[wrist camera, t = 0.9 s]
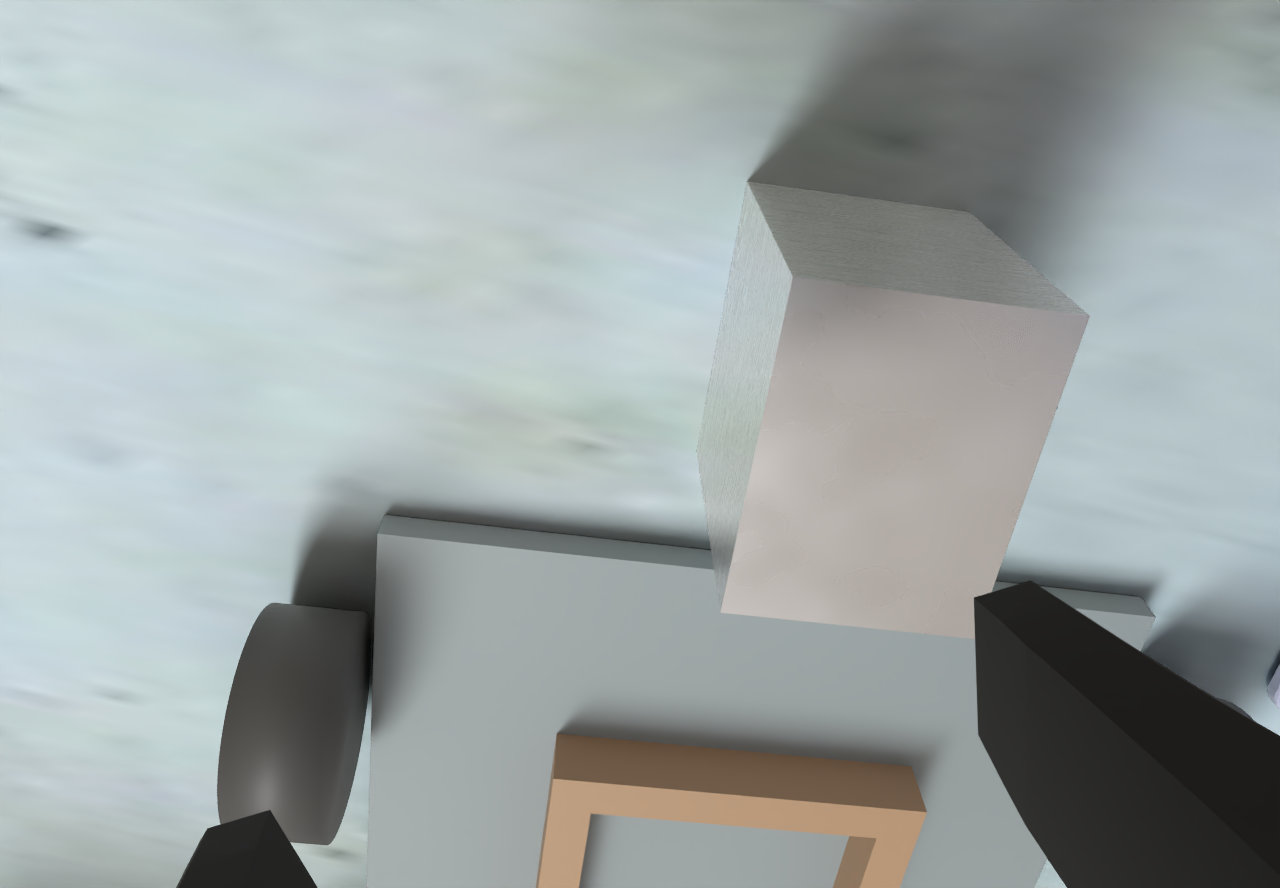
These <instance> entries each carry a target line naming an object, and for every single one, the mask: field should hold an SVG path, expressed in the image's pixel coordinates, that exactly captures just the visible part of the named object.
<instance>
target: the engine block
mask: <svg viewBox="0 0 1280 888" xmlns="http://www.w3.org/2000/svg"><path fill="white" fill-rule="evenodd" d="M1089 317H1090V316H1089V315H1088V314H1087V313H1086V312H1085V311H1083V310H1082V309H1081V308H1080V307H1079V306H1078V305H1077V304H1075V303H1074V302H1073V301H1072V300H1071V299H1070V298H1068V297H1067V296H1066V295H1065V294H1064V293H1063V292H1061V291H1060V290H1059V289H1058V288H1057V287H1056V286H1054V285H1053V284H1052V283H1051V282H1050V281H1049V280H1048V279H1046V278H1045V277H1044V276H1043V275H1042V274H1041V273H1039V272H1038V271H1037V270H1036V269H1035V268H1034V267H1032V266H1031V265H1030V264H1029V263H1028V262H1027V261H1025V260H1024V259H1023V258H1022V257H1021V256H1020V255H1019V254H1017V253H1016V252H1015V251H1014V250H1013V249H1012V248H1010V247H1009V246H1008V245H1007V244H1006V243H1005V242H1003V241H1002V240H1001V239H1000V238H999V237H998V236H996V235H995V234H994V233H993V232H992V231H991V230H990V229H988V228H987V227H986V226H985V225H984V224H983V223H981V222H980V221H979V220H978V219H977V218H976V217H974V216H973V215H972V214H971V213H970V212H966V211H958V210H951V209H944V208H937V207H930V206H922V205H915V204H908V203H901V202H893V201H886V200H879V199H872V198H865V197H857V196H850V195H843V194H836V193H828V192H821V191H814V190H807V189H800V188H792V187H785V186H778V185H771V184H763V183H756V182H749V181H747V184H746V189H745V194H744V200H743V205H742V210H741V216H740V221H739V226H738V232H737V237H736V242H735V248H734V253H733V258H732V264H731V269H730V274H729V280H728V285H727V290H726V296H725V301H724V306H723V312H722V317H721V322H720V328H719V333H718V338H717V344H716V349H715V354H714V360H713V365H712V371H711V376H710V381H709V387H708V392H707V397H706V403H705V408H704V413H703V419H702V424H701V429H700V435H699V440H698V445H697V458H698V465H699V472H700V478H701V485H702V492H703V499H704V505H705V512H706V519H707V526H708V532H709V539H710V546H711V553H712V559H713V566H714V573H715V579H716V586H717V593H718V600H719V606H720V613H728V614H738V615H748V616H757V617H767V618H777V619H786V620H796V621H806V622H815V623H825V624H835V625H844V626H854V627H864V628H873V629H883V630H893V631H902V632H912V633H922V634H931V635H941V636H951V637H960V638H970V639H975V622H974V597H977V596H981V595H984V594H987V593H991V592H992V589H993V586H994V584H995V581H996V578H997V575H998V572H999V569H1000V567H1001V564H1002V561H1003V558H1004V555H1005V553H1006V550H1007V547H1008V544H1009V541H1010V539H1011V536H1012V533H1013V530H1014V527H1015V525H1016V522H1017V519H1018V516H1019V513H1020V510H1021V508H1022V505H1023V502H1024V499H1025V496H1026V494H1027V491H1028V488H1029V485H1030V482H1031V480H1032V477H1033V474H1034V471H1035V468H1036V466H1037V463H1038V460H1039V457H1040V454H1041V451H1042V449H1043V446H1044V443H1045V440H1046V437H1047V435H1048V432H1049V429H1050V426H1051V423H1052V421H1053V418H1054V415H1055V412H1056V409H1057V407H1058V404H1059V401H1060V398H1061V395H1062V392H1063V390H1064V387H1065V384H1066V381H1067V378H1068V376H1069V373H1070V370H1071V367H1072V364H1073V362H1074V359H1075V356H1076V353H1077V350H1078V348H1079V345H1080V342H1081V339H1082V336H1083V333H1084V331H1085V328H1086V325H1087V322H1088V319H1089Z"/></svg>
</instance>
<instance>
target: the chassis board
mask: <svg viewBox="0 0 1280 888" xmlns="http://www.w3.org/2000/svg"><path fill="white" fill-rule="evenodd" d="M1014 585H1017V584H1016V583H1007V582H998V581H995V584H994V586H993V589H992V592H994V591H997V590H1001V589H1004V588H1007V587H1011V586H1014ZM1040 587H1042V588H1044V589H1045V590H1047V591H1048V592H1050V593H1051V594H1053V595H1054V596H1056V597H1058V598H1059V599H1061V600H1062V601H1064V602H1065V603H1067V604H1068V605H1070V606H1071V607H1073V608H1074V609H1076V610H1077V611H1079V612H1081V613H1082V614H1084V615H1085V616H1087V617H1088V618H1090V619H1091V620H1093V621H1094V622H1096V623H1097V624H1099V625H1100V626H1102V627H1103V628H1105V629H1107V630H1108V631H1110V632H1111V633H1113V634H1114V635H1116V636H1117V637H1119V638H1120V639H1122V640H1123V641H1125V642H1127V643H1128V644H1130V645H1131V646H1133V647H1134V648H1136V649H1138V650H1139V651H1141V649H1142V647H1143V645H1144V643H1145V641H1146V638H1147V636H1148V634H1149V632H1150V629H1151V627H1152V625H1153V623H1154V621H1155V618H1156V617H1155V615H1154V614H1153V613H1152V611H1151V610H1150V609H1149V607H1148V606H1147V605H1146V603H1145V602H1144V601H1143V599H1142V598H1141V597H1136V596H1127V595H1117V594H1108V593H1099V592H1090V591H1081V590H1071V589H1062V588H1053V587H1044V586H1040ZM371 644H372V643H371V626H370V620H369V617H368V615H367V613H366V612H361V611H351V610H341V609H331V608H321V607H311V606H301V605H291V604H281V603H271V604H269V605H268V606H266V607H265V608H264V609H263V611H262V612H261V613H260V615H259V616H258V618H257V620H256V621H255V623H254V625H253V627H252V629H251V631H250V633H249V636H248V638H247V641H246V643H245V646H244V648H243V651H242V654H241V657H240V660H239V663H238V666H237V670H236V673H235V676H234V680H233V684H232V688H231V692H230V696H229V701H228V705H227V710H226V715H225V720H224V726H223V732H222V739H221V746H220V755H219V765H218V783H217V798H218V812H219V819H220V824H224V823H227V822H231V821H234V820H237V819H241V818H244V817H247V816H251V815H254V814H257V813H261V812H264V811H267V810H271V812H272V814H273V815H274V817H275V819H276V820H277V822H278V824H279V825H280V827H281V829H282V830H283V832H284V833H285V835H286V837H287V838H288V840H289V842H294V843H306V844H318V845H329V844H330V843H331V842H332V841H333V839H334V838H335V836H336V834H337V832H338V829H339V827H340V824H341V822H342V819H343V816H344V813H345V810H346V807H347V803H348V799H349V796H350V792H351V788H352V784H353V780H354V776H355V771H356V767H357V762H358V757H359V752H360V746H361V741H362V735H363V729H364V723H365V716H366V709H367V701H368V692H369V682H370V670H371ZM1216 699H1218V698H1216ZM1218 700H1220V701H1221V702H1223V703H1225V704H1226V705H1228V706H1230V707H1231V708H1233V709H1235V710H1236V711H1238V712H1240V713H1241V714H1243V715H1245V716H1246V717H1248V718H1250V719H1251V720H1253V719H1252V718H1251V717H1250V716H1249V715H1248V714H1247V713H1246V712H1245V711H1243V710H1242V709H1241V708H1239V707H1238V706H1236V705H1235V704H1233V703H1231V702H1228V701H1226V700H1223V699H1218ZM1253 721H1254V720H1253ZM1046 860H1047V857H1046V856H1045V854H1044V853H1043V851H1042V850H1041V848H1040V847H1039V845H1038V844H1037V842H1036V841H1035V839H1034V838H1033V836H1032V835H1031V833H1030V831H1029V830H1028V828H1027V827H1026V825H1025V824H1024V822H1023V820H1022V818H1021V816H1020V814H1019V812H1018V811H1017V809H1016V807H1015V805H1014V803H1013V801H1012V799H1011V798H1010V796H1009V794H1008V792H1007V790H1006V788H1005V786H1004V785H1003V783H1002V781H1001V779H1000V777H999V775H998V773H997V771H996V769H995V767H994V765H993V763H992V761H991V759H990V757H989V755H988V753H987V751H986V749H985V747H984V745H983V743H982V741H981V740H980V738H979V736H978V717H977V685H976V653H975V639H970V638H960V637H951V636H941V635H931V634H922V633H912V632H902V631H893V630H883V629H873V628H864V627H854V626H844V625H835V624H825V623H815V622H806V621H796V620H786V619H777V618H767V617H757V616H748V615H738V614H728V613H720V606H719V600H718V593H717V586H716V579H715V573H714V566H713V559H712V553H711V550H704V549H695V548H685V547H676V546H667V545H658V544H649V543H639V542H630V541H621V540H612V539H603V538H593V537H584V536H575V535H566V534H557V533H547V532H538V531H529V530H520V529H511V528H501V527H492V526H483V525H474V524H465V523H456V522H446V521H437V520H428V519H419V518H410V517H400V516H391V515H384V517H383V520H382V523H381V525H380V528H379V531H378V533H377V559H376V591H375V623H374V656H373V688H372V720H371V752H370V784H369V816H368V848H367V880H366V888H1034V887H1035V885H1036V882H1037V880H1038V878H1039V876H1040V874H1041V871H1042V869H1043V867H1044V865H1045V862H1046Z"/></svg>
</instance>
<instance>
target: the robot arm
mask: <svg viewBox="0 0 1280 888" xmlns="http://www.w3.org/2000/svg"><path fill="white" fill-rule="evenodd" d="M974 622H975V653H976V685H977V717H978V736H979V738H980V740H981V741H982V743H983V745H984V747H985V749H986V751H987V753H988V755H989V757H990V759H991V761H992V763H993V765H994V767H995V769H996V771H997V773H998V775H999V777H1000V779H1001V781H1002V783H1003V785H1004V786H1005V788H1006V790H1007V792H1008V794H1009V796H1010V798H1011V799H1012V801H1013V803H1014V805H1015V807H1016V809H1017V811H1018V812H1019V814H1020V816H1021V818H1022V820H1023V822H1024V824H1025V825H1026V827H1027V828H1028V830H1029V831H1030V833H1031V835H1032V836H1033V838H1034V839H1035V841H1036V842H1037V844H1038V845H1039V847H1040V848H1041V850H1042V851H1043V853H1044V854H1045V856H1046V857H1047V859H1048V860H1049V862H1050V863H1051V864H1052V866H1053V867H1054V869H1055V870H1056V872H1057V873H1058V875H1059V876H1060V878H1061V879H1062V881H1063V882H1064V884H1065V885H1066V887H1067V888H1280V736H1279V735H1277V734H1276V733H1274V732H1272V731H1270V730H1269V729H1267V728H1265V727H1263V726H1262V725H1260V724H1258V723H1256V722H1255V721H1253V720H1251V719H1250V718H1248V717H1246V716H1245V715H1243V714H1241V713H1240V712H1238V711H1236V710H1235V709H1233V708H1231V707H1230V706H1228V705H1226V704H1225V703H1223V702H1221V701H1220V700H1218V699H1216V698H1215V697H1213V696H1211V695H1210V694H1208V693H1206V692H1205V691H1203V690H1201V689H1200V688H1198V687H1196V686H1195V685H1193V684H1191V683H1190V682H1188V681H1187V680H1185V679H1183V678H1182V677H1180V676H1179V675H1177V674H1175V673H1174V672H1172V671H1171V670H1169V669H1167V668H1166V667H1164V666H1163V665H1161V664H1159V663H1158V662H1156V661H1155V660H1153V659H1152V658H1150V657H1148V656H1147V655H1145V654H1144V653H1142V652H1141V651H1139V650H1138V649H1136V648H1134V647H1133V646H1131V645H1130V644H1128V643H1127V642H1125V641H1123V640H1122V639H1120V638H1119V637H1117V636H1116V635H1114V634H1113V633H1111V632H1110V631H1108V630H1107V629H1105V628H1103V627H1102V626H1100V625H1099V624H1097V623H1096V622H1094V621H1093V620H1091V619H1090V618H1088V617H1087V616H1085V615H1084V614H1082V613H1081V612H1079V611H1077V610H1076V609H1074V608H1073V607H1071V606H1070V605H1068V604H1067V603H1065V602H1064V601H1062V600H1061V599H1059V598H1058V597H1056V596H1054V595H1053V594H1051V593H1050V592H1048V591H1047V590H1045V589H1044V588H1042V587H1040V586H1039V585H1037V584H1035V583H1034V582H1032V581H1027V582H1024V583H1020V584H1017V585H1014V586H1011V587H1007V588H1004V589H1001V590H997V591H994V592H991V593H987V594H984V595H981V596H977V597H974ZM1267 692H1268V696H1269V697H1270V699H1271V700H1272V701H1273V702H1274V703H1275V705H1277V706H1278V707H1279V708H1280V664H1279V666H1278V668H1277V670H1276V672H1275V674H1274V676H1273V678H1272V680H1271V681H1270V683H1269V686H1268V689H1267ZM176 888H317V886H316V884H315V883H314V881H313V879H312V878H311V876H310V874H309V873H308V871H307V870H306V868H305V866H304V865H303V863H302V861H301V860H300V858H299V856H298V855H297V853H296V851H295V850H294V848H293V847H292V845H291V843H290V842H289V840H288V838H287V837H286V835H285V833H284V832H283V830H282V829H281V827H280V825H279V824H278V822H277V820H276V819H275V817H274V815H273V814H272V812H271V810H267V811H264V812H261V813H257V814H254V815H251V816H247V817H244V818H241V819H237V820H234V821H231V822H227V823H224V824H221V825H217V826H214V827H211V828H208V829H207V830H206V832H205V834H204V835H203V837H202V839H201V840H200V842H199V844H198V846H197V848H196V850H195V852H194V854H193V856H192V858H191V860H190V862H189V864H188V866H187V868H186V869H185V871H184V873H183V875H182V877H181V879H180V881H179V883H178V885H177V887H176Z"/></svg>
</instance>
